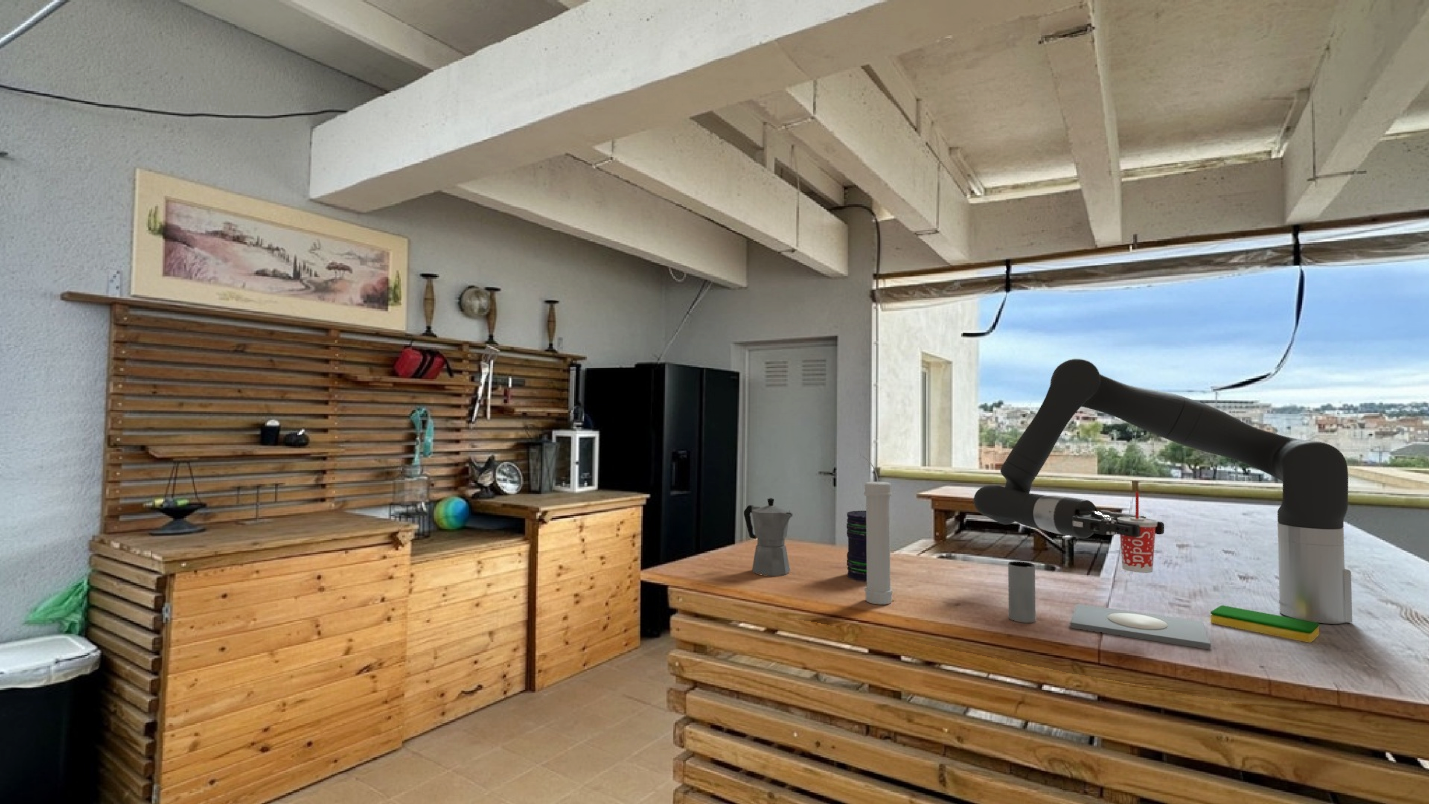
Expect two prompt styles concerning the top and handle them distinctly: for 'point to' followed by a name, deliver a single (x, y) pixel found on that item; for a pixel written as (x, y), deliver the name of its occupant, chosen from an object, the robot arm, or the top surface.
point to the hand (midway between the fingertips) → (1150, 529)
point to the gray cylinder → (1021, 591)
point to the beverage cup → (1138, 544)
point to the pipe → (878, 541)
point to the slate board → (1141, 626)
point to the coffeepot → (769, 538)
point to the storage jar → (857, 546)
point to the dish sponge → (1265, 623)
